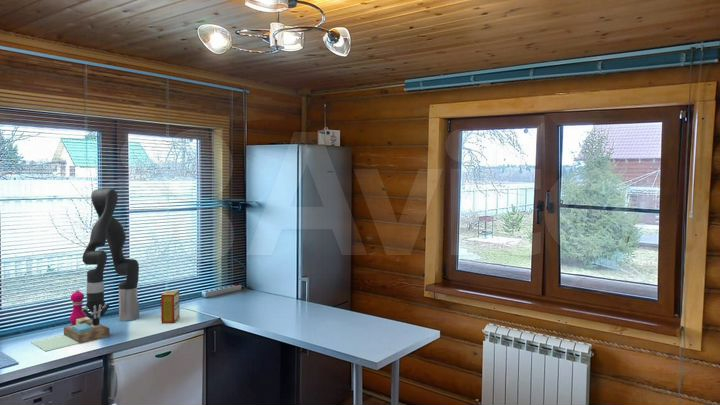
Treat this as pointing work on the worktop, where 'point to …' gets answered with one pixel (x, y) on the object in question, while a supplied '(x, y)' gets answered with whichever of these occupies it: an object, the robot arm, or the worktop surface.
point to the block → (83, 321)
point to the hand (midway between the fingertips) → (95, 325)
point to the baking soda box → (170, 307)
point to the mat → (54, 343)
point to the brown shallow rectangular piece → (87, 333)
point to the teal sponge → (82, 328)
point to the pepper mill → (77, 306)
